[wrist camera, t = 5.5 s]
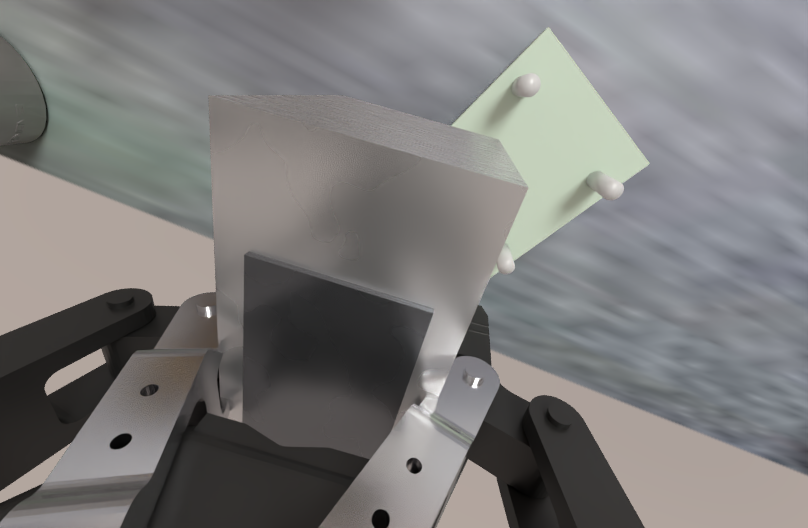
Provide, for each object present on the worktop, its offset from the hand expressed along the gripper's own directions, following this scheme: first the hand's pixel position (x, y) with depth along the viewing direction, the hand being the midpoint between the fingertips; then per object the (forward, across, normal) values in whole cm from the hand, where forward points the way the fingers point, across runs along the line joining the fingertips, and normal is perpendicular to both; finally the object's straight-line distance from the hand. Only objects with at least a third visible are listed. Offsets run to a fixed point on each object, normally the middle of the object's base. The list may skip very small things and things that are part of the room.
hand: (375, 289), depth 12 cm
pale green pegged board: (+16, -6, -2) cm, 18 cm away
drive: (+1, 0, 0) cm, 1 cm away
